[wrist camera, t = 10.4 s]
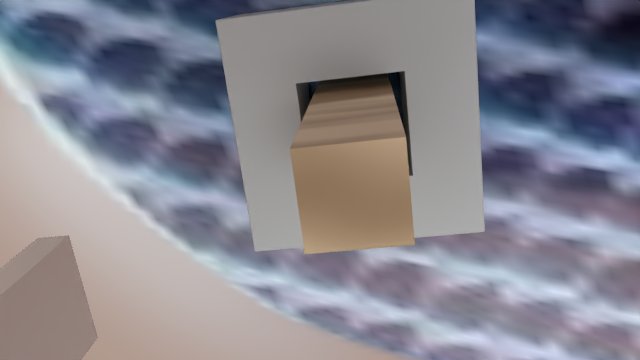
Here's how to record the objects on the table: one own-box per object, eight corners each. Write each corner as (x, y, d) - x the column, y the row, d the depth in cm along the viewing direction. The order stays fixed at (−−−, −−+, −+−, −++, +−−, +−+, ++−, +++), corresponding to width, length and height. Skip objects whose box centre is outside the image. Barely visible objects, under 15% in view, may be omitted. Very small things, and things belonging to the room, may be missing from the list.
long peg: (320, 78, 31) (289, 148, 18) (387, 71, 31) (406, 136, 18) (328, 143, 32) (304, 254, 19) (392, 136, 32) (414, 244, 19)
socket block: (238, 14, 30) (215, 20, 26) (455, -14, 29) (473, -13, 25) (270, 214, 34) (255, 251, 29) (466, 195, 33) (484, 231, 28)
